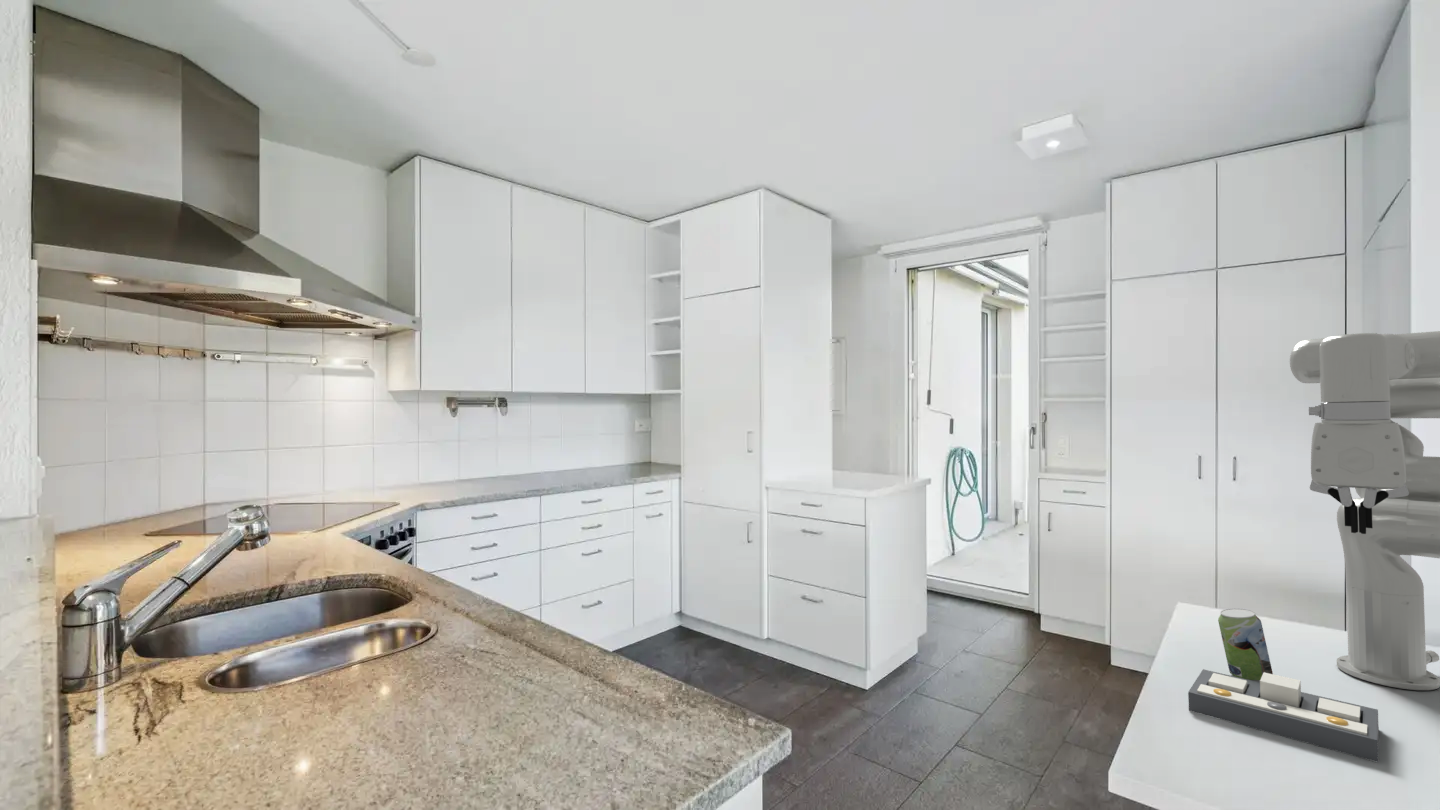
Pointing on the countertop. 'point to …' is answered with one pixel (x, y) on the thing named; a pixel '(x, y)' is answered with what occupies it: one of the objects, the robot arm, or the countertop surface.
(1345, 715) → the right key
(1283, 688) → the middle key
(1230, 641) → the beverage can
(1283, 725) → the board
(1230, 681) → the left key
